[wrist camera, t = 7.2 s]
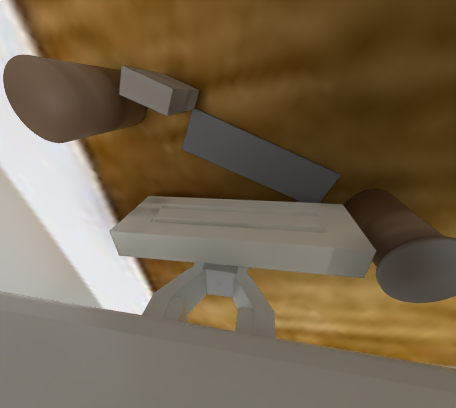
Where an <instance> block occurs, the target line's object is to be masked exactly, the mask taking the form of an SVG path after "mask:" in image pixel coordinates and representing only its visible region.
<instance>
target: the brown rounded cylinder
mask: <svg viewBox="0 0 456 408" xmlns="http://www.w3.org/2000/svg"><path fill="white" fill-rule="evenodd" d="M3 82H4V88H5V92H6V95H7V98H8V100H9V102H10V104H11V106H12V108H13V110H14V111H15V113H16V114H17V116H18V117H19V118H20V120H21V121H22V122H23V123H24V124H25V125H26V126H27V127H28V128H29V129H30V130H31V131H32V132H34V133H35V134H37V135H38V136H40V137H41V138H43V139H45V140H48V141H51V142H55V143H64V142H69V141H73V140H77V139H81V138H85V137H89V136H93V135H97V134H101V133H105V132H109V131H113V130H117V129H121V128H125V127H129V126H134V125H137V124H139V123H140V122H141V121H142V120H143V119H144V117H145V115H146V111H147V107H148V108H150V109H153V110H155V111H157V112H159V113H162V114H164V115H166V116H169V115H174V114H178V113H182V112H186V111H191V110H193V108H195V105H196V101H197V98H198V94H199V91H200V90H198V89H196V88H193V87H191V86H189V85H187V84H185V83H183V82H181V81H178V80H176V79H174V78H172V77H170V76H168V75H165V74H162V73H157V72H152V71H147V70H143V69H138V68H133V67H128V66H123V65H122V67H121V70H115V69H109V68H103V67H97V66H91V65H85V64H79V63H73V62H67V61H61V60H55V59H49V58H43V57H37V56H31V55H17V56H15V57H13V58H11V59H10V60H9V61H8V62H7V64H6V66H5V69H4V74H3Z"/></svg>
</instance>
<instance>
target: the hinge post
mask: <svg viewBox="0 0 456 408" xmlns="http://www.w3.org/2000/svg"><path fill="white" fill-rule="evenodd" d="M345 208H346V210H347V211H348V213H349V214H350V215H351V217H352V218H353V219H354V221H355V222H356V224H357V225H358V226H359V228H360V229H361V230H362V232H363V233H364V235H365V236H366V237H367V239H368V240H369V241H370V243H371V244H372V246H373V247H374V248H375V250H376V253H375V255H374V257H373V259H372V261H373V262H374V264H375V265H376V267H377V269H376V279H377V281H378V283H379V285H380V286H381V288H382V289H383V291H384V292H385V293H386V294H388V295H389V296H391V297H393V298H395V299H397V300H400V301H404V302H412V303H428V302H435V301H440V300H444V299H448V298H451V297H454V296H456V238H452V237H444V236H443V235H442V234H441V233H439V232H438V231H437V230H435V229H434V228H433V227H432V226H430V225H429V224H428V223H427V222H425V221H424V220H423V219H421V218H420V217H419V216H418V215H416V214H415V213H414V212H412V211H411V210H410V209H409V208H407V207H406V206H405V205H404V204H402V203H401V202H400V201H398V200H397V199H396V198H395V197H393V196H392V195H391V194H390V193H388V192H386V191H384V190H378V189H372V190H366V191H363V192H361V193H358V194H357V195H355V196H354V197H352V198H351V199H350V200H349V201H348V203H347V204H346V206H345Z"/></svg>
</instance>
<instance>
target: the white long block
mask: <svg viewBox="0 0 456 408" xmlns="http://www.w3.org/2000/svg"><path fill="white" fill-rule="evenodd" d="M110 234H111V236H112V239H113V241H114V244H115V246H116V249H117V251H118V254H119V256H130V257H141V258H152V259H163V260H173V261H184V262H195V261H199V262H205V263H212V264H219V265H228V266H238V267H249V268H260V269H271V270H282V271H293V272H303V273H314V274H325V275H336V276H347V277H357V278H365V275H366V273H367V271H368V268H369V266H370V264H371V262H372V259H373V257H374V255H375V253H376V250H375V248H374V247H373V246H372V244H371V243H370V241H369V240H368V239H367V237H366V236H365V235H364V233H363V232H362V230H361V229H360V228H359V226H358V225H357V224H356V222H355V221H354V219H353V218H352V217H351V215H350V214H349V213H348V211H347V210H346V208H345V207H344V206H343V204H327V203H304V202H280V201H257V200H233V199H209V198H186V197H162V196H148V197H147V198H146V199H145V200H144V201H143V202H141V203H140V204H139V205H138V206H137V207H136V208H135V209H134V210H133V211H131V212H130V213H129V214H128V215H127V216H126V217H125V218H124V219H123V220H121V221H120V222H119V223H118V224H117V225H116V226H115V227H114V228H113V229H111V230H110Z"/></svg>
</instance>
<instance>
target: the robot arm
mask: <svg viewBox="0 0 456 408" xmlns="http://www.w3.org/2000/svg"><path fill="white" fill-rule="evenodd" d="M206 294H212V295H220V296H226V297H231V298H233V301H234V303H235V305H236V308H237V310H238V314H237V321H236V329H235V331H231V330H225V329H219V328H213V327H207V326H201V325H195V324H190V323H188V320H187V314H188V313H189V312H190V311H191V310H192V309H193V308H194V307H195V306H196V305H197V304H198V303H199V302H200V301H201V300H202V299H203V298H204V297H205V296H206ZM0 408H456V369H455V368H449V367H443V366H437V365H431V364H425V363H419V362H413V361H407V360H402V359H396V358H390V357H384V356H378V355H372V354H366V353H360V352H355V351H349V350H343V349H337V348H331V347H325V346H319V345H313V344H308V343H302V342H296V341H290V340H284V339H278V338H276V335H275V319H274V311H273V309H272V308H271V306H270V305H269V303H268V302H267V300H266V299H265V297H264V296H263V294H262V293H261V291H260V290H259V288H258V287H257V285H256V284H255V282H254V281H253V279H252V277H251V276H248V267H238V266H228V265H219V264H212V263H205V262H199V261H195V263H194V266H193V268H189V269H187V270H186V271H185V272H183V273H182V274H180V275H179V276H177V277H176V278H175V279H173V280H172V281H170V282H169V283H167V284H166V285H165V286H163V287H162V288H160V289H159V290H157V291H156V292H155V293H154V294H153V296H152V298H151V300H150V301H149V303H148V305H147V307H146V309H145V311H144V312H143V314H142V315H137V314H131V313H125V312H119V311H113V310H107V309H102V308H96V307H90V306H84V305H78V304H72V303H66V302H60V301H54V300H49V299H42V298H37V297H30V296H25V295H19V294H13V293H7V292H1V291H0Z"/></svg>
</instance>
